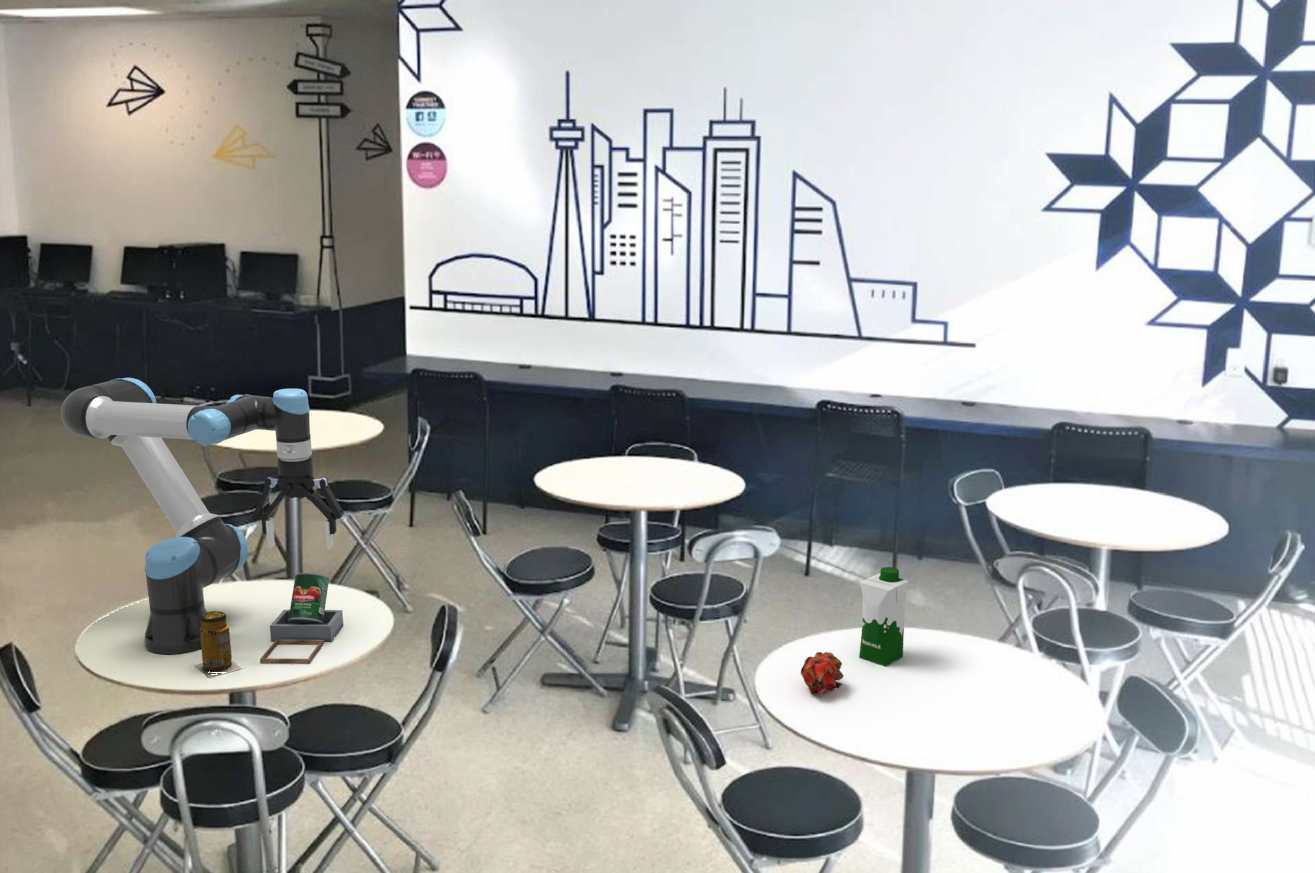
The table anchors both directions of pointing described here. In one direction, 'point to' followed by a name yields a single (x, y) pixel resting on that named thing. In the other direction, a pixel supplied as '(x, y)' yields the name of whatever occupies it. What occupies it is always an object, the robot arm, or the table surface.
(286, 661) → the wooden picture frame
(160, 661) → the table surface
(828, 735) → the table surface
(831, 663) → the dragon fruit
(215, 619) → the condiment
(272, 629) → the bin
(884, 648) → the milk carton
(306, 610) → the canned tomato
